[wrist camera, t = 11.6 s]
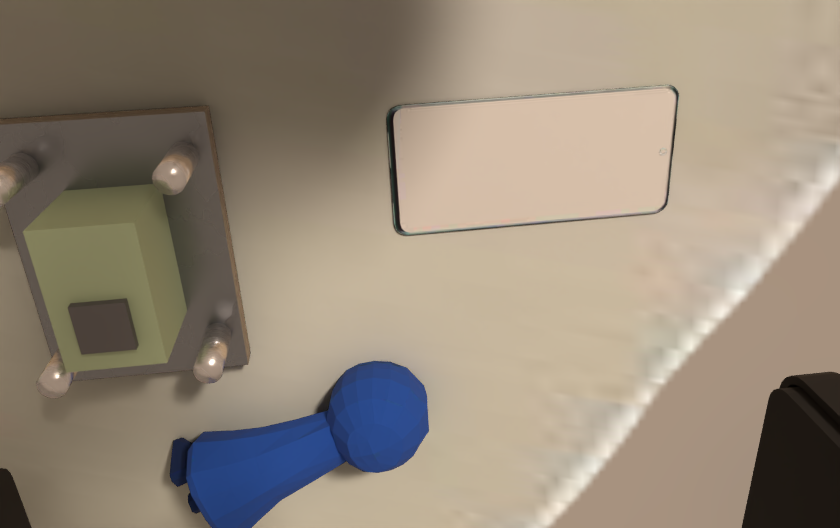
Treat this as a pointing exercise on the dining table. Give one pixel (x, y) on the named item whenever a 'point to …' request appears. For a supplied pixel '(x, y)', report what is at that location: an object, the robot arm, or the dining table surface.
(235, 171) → the dining table surface
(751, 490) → the robot arm
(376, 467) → the toy
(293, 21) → the dining table surface
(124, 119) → the chassis
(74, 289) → the block
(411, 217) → the smartphone
